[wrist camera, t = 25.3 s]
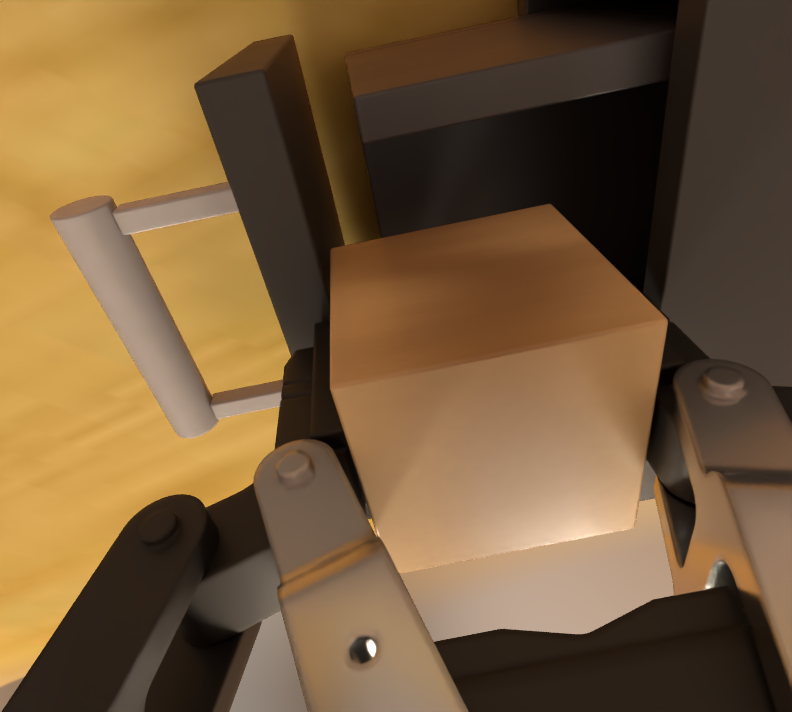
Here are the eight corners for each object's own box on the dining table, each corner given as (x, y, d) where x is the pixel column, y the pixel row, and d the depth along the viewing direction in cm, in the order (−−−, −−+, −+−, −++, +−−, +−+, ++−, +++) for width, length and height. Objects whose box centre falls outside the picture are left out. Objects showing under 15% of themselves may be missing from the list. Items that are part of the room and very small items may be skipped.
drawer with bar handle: (227, 384, 21) (183, 551, 15) (82, 78, 15) (-103, 145, 8) (669, 295, 21) (813, 426, 15) (724, -58, 15) (1030, -94, 8)
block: (373, 412, 13) (390, 577, 10) (329, 248, 11) (329, 388, 7) (550, 376, 13) (636, 529, 10) (551, 202, 11) (670, 319, 7)
